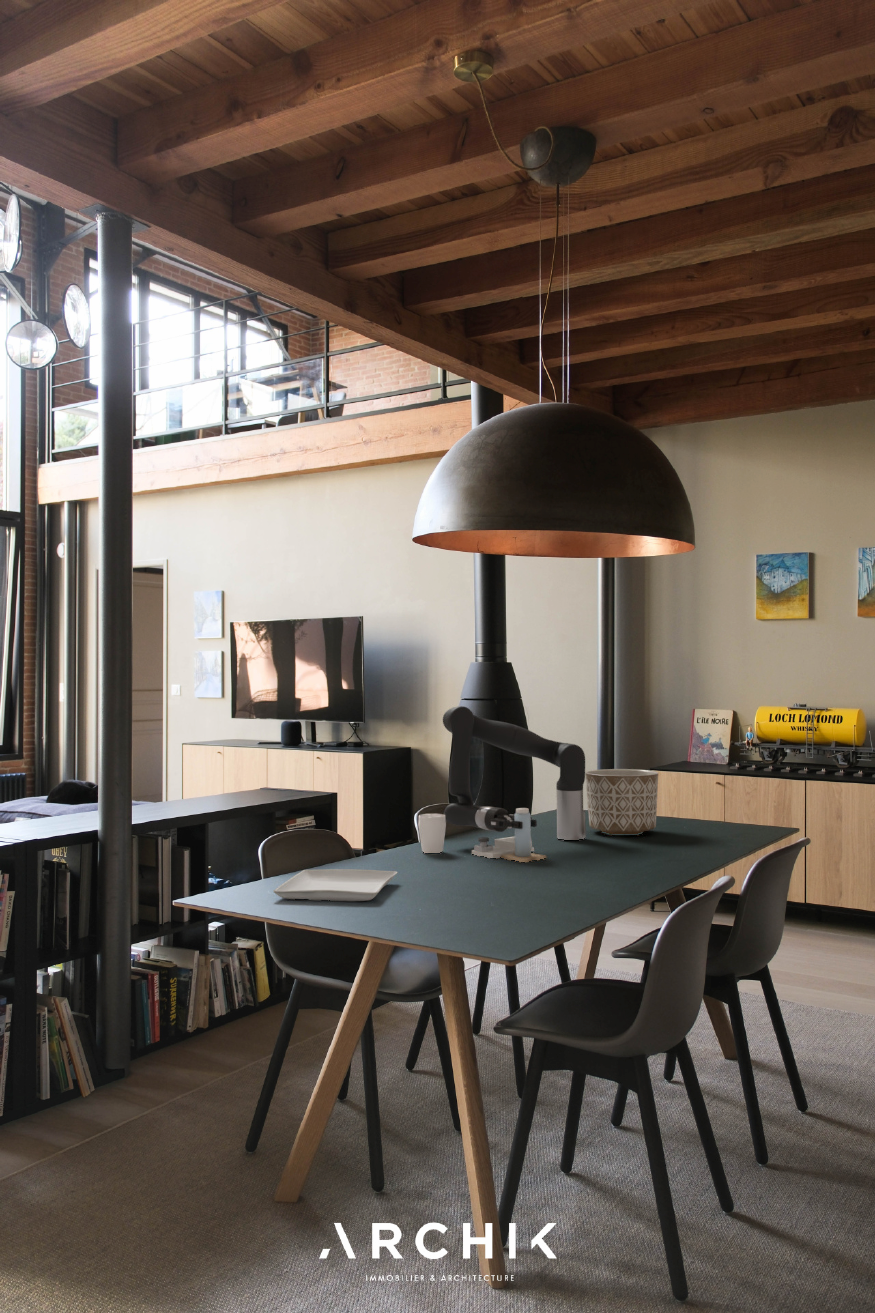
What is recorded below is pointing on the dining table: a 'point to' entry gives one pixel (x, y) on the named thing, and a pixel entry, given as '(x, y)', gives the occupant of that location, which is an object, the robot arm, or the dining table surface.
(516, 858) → the coaster
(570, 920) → the dining table surface
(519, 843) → the bottle
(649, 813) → the planter
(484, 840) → the plunger
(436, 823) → the cup
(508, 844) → the housing
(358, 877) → the square plate
